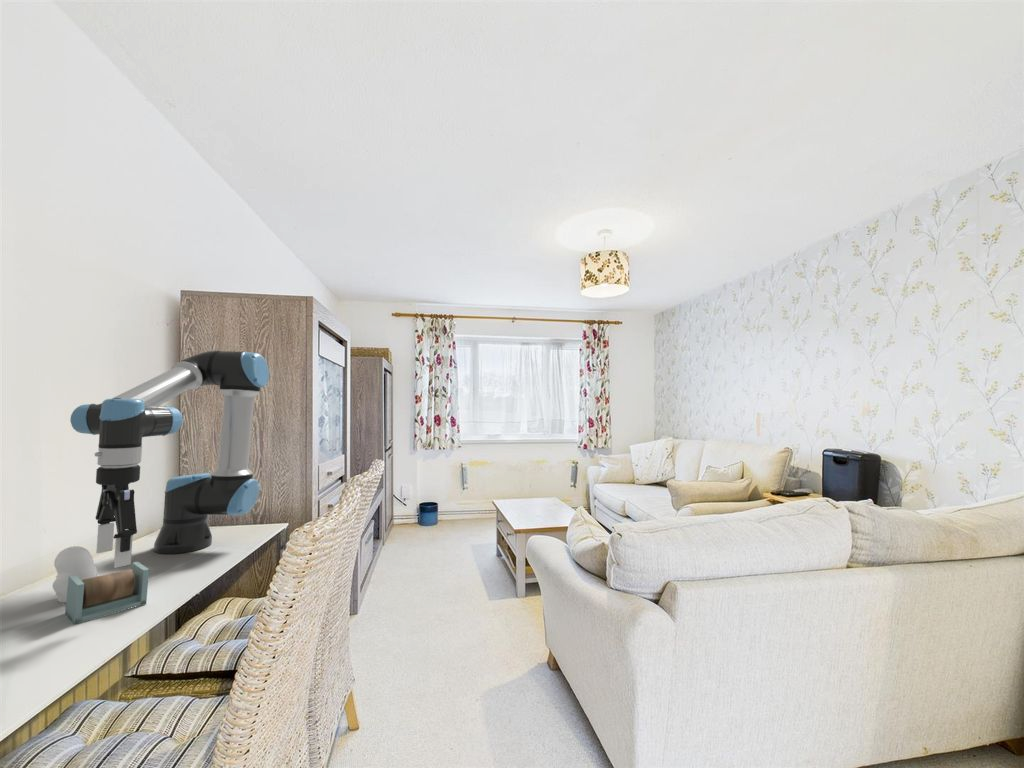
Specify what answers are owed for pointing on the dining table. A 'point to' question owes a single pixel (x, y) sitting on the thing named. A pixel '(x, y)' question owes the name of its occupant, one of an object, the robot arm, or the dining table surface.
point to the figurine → (72, 568)
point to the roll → (107, 588)
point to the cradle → (92, 612)
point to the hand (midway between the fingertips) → (113, 558)
